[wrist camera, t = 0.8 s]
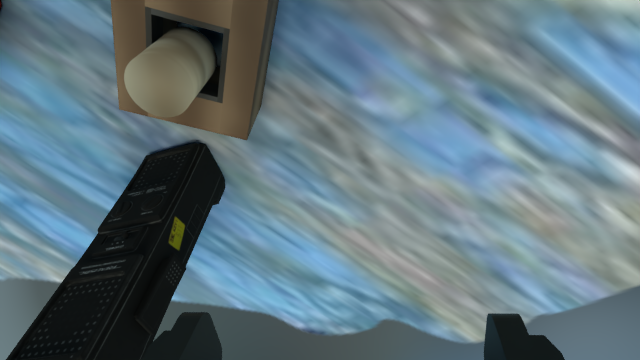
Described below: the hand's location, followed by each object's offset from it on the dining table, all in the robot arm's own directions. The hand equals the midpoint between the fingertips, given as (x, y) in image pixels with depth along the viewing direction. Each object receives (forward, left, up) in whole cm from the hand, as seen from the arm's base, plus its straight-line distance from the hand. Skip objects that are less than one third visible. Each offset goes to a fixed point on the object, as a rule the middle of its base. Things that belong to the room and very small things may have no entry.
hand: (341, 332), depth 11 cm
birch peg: (-11, -2, -21) cm, 24 cm away
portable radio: (-12, -16, -26) cm, 33 cm away
